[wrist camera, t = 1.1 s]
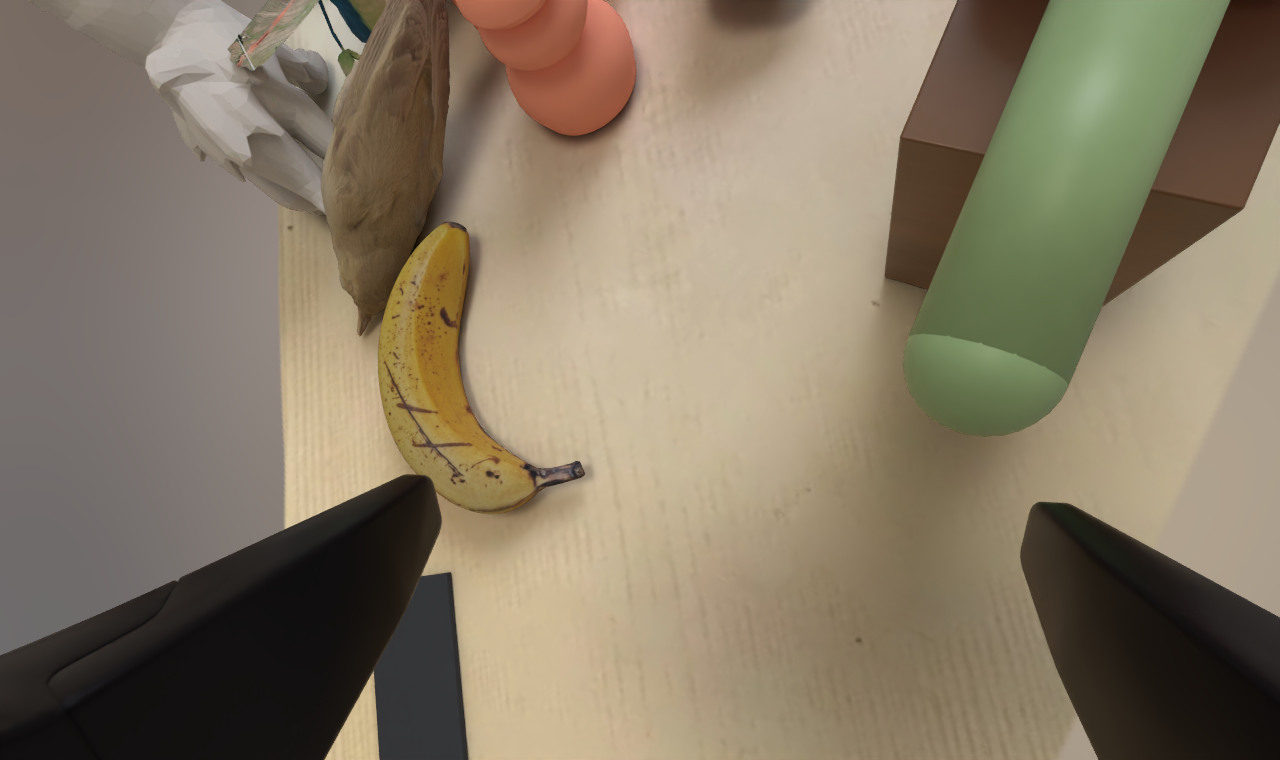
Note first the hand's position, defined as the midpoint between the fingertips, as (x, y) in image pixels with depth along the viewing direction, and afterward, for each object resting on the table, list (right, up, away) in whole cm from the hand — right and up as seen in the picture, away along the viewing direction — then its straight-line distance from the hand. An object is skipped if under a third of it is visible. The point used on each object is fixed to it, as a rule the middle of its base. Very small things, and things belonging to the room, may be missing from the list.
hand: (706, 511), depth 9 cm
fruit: (-10, +2, +23) cm, 25 cm away
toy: (-21, +18, +30) cm, 41 cm away
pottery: (-5, +23, +25) cm, 34 cm away
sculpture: (-16, +17, +23) cm, 33 cm away
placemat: (-12, -13, +21) cm, 28 cm away
